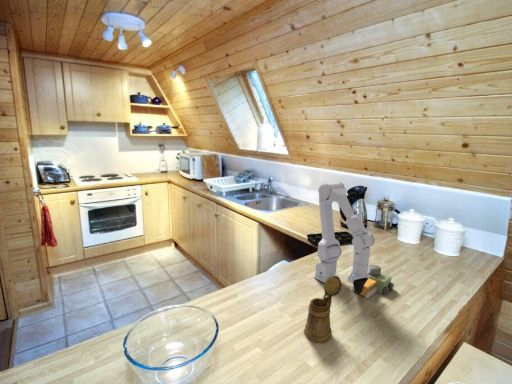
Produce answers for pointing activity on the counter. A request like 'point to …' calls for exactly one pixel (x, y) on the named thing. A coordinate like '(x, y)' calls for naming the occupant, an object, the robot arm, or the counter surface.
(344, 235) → the egg carton
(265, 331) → the counter surface
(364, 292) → the orange slab
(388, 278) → the mower housing
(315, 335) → the wooden mug
